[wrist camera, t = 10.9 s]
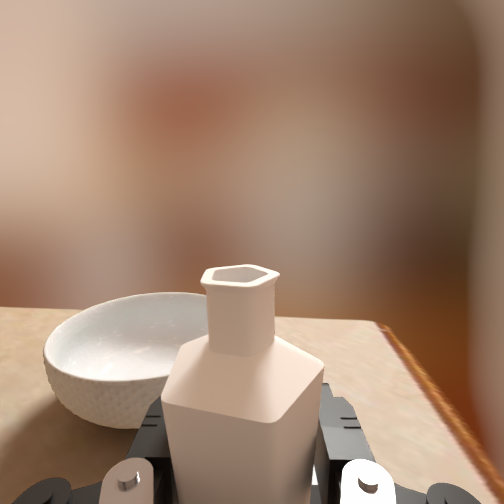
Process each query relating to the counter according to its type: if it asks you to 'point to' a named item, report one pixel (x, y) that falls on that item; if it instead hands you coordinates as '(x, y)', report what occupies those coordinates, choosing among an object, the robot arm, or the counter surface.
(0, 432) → the counter surface
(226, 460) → the white faceted bottle
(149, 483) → the robot arm
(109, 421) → the cereal bowl
